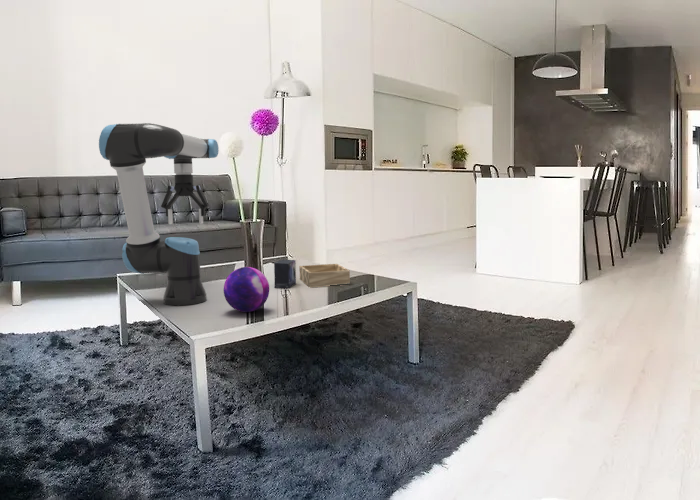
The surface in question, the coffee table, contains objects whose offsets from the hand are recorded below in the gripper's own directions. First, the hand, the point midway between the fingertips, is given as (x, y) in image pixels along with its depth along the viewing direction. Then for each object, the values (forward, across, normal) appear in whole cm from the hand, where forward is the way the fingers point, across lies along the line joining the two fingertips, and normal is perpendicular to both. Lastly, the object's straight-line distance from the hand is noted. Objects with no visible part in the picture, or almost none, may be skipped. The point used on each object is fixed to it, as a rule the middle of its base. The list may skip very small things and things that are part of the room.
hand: (186, 224), depth 246 cm
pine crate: (+26, -59, -2) cm, 64 cm away
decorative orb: (+27, -41, +53) cm, 72 cm away
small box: (+26, -44, +7) cm, 52 cm away
